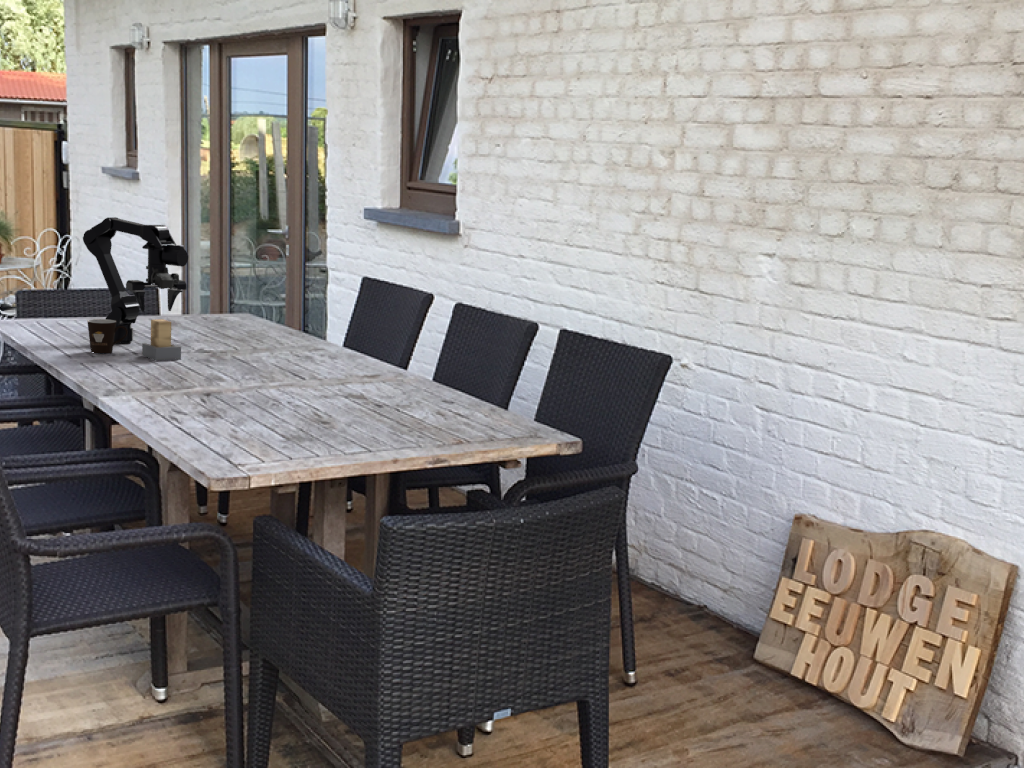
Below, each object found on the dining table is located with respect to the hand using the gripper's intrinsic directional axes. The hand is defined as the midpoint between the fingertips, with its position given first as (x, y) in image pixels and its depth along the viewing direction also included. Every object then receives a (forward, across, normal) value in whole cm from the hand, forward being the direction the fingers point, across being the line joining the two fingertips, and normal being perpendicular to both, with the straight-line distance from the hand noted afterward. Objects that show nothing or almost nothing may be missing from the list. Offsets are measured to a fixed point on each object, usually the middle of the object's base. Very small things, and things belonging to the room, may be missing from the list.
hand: (156, 311), depth 395 cm
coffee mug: (+12, -19, -5) cm, 23 cm away
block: (+11, -6, -18) cm, 22 cm away
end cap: (+12, -6, -18) cm, 22 cm away
